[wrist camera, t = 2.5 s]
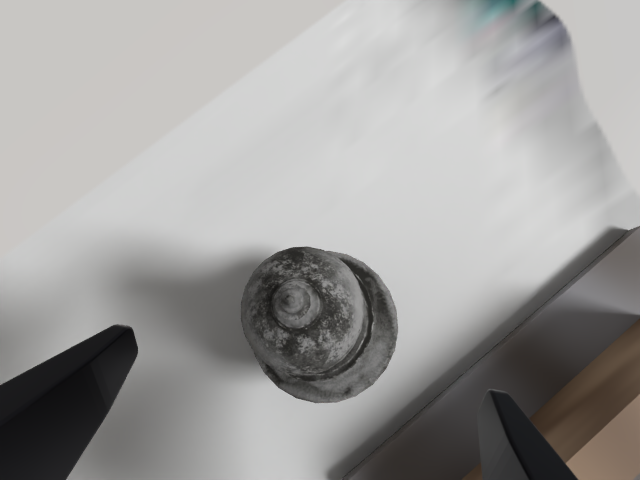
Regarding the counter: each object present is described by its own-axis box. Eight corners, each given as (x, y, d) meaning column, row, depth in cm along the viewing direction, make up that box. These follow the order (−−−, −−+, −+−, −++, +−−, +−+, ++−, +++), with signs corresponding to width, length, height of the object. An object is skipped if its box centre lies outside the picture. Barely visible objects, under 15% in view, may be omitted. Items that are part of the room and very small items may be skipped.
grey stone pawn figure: (260, 384, 18) (92, 463, 6) (275, 263, 19) (164, 144, 8) (386, 398, 17) (461, 513, 6) (391, 272, 19) (459, 156, 7)
